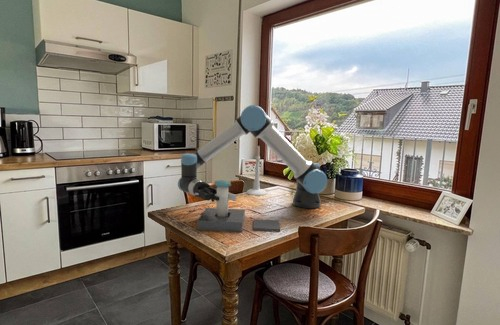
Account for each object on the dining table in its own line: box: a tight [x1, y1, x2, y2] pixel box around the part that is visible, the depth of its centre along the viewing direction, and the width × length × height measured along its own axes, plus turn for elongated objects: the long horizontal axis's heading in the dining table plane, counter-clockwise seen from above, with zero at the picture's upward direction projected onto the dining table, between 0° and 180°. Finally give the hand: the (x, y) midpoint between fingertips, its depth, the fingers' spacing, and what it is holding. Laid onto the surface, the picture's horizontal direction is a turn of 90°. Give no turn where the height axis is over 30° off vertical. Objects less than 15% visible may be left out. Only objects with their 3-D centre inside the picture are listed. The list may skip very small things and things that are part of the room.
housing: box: [197, 207, 246, 233], centre depth 129 cm, size 18×18×4 cm
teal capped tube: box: [214, 179, 232, 217], centre depth 128 cm, size 7×7×17 cm
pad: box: [252, 218, 281, 232], centre depth 127 cm, size 11×11×1 cm
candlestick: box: [245, 145, 268, 197], centre depth 184 cm, size 13×13×30 cm
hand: (230, 199), depth 124 cm, fingers closed on teal capped tube, 5 cm apart
